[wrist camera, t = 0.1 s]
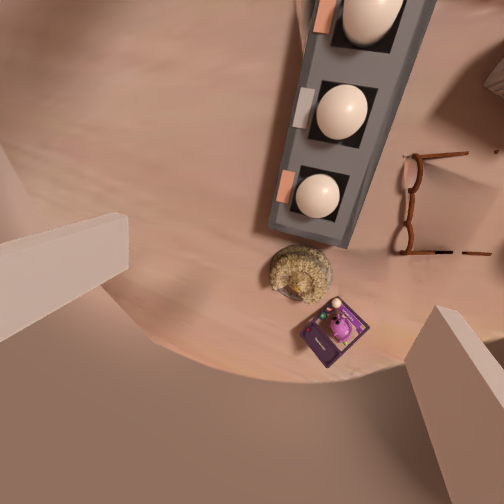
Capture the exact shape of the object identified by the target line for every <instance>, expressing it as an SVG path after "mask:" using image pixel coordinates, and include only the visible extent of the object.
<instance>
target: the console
mask: <svg viewBox="0 0 504 504" xmlns="http://www.w3.org/2000/svg"><path fill="white" fill-rule="evenodd" d="M436 2H437V0H403V2H402V5H401V8H400V10H399V12H398V15H397V17H396V19H395V21H394V23H393V25H392V27H391V29H390V31H389V32H388V33H387V35H386V36H385V37H384V38H383V39H382V40H381V41H379V42H378V43H376V44H375V45H372V46H370V47H364V48H361V47H356V46H354V45H352V44H351V43H350V42H349V41H348V40H347V39H346V37H345V35H344V32H343V8H344V0H316V1H315V6H314V11H313V15H312V20H311V25H310V29H309V34H308V39H307V43H306V48H305V53H304V57H303V62H302V67H301V71H300V76H299V81H298V85H297V90H296V95H295V99H294V104H293V109H292V113H291V118H290V123H289V127H288V132H287V137H286V141H285V146H284V151H283V155H282V160H281V165H280V169H279V174H278V179H277V183H276V188H275V193H274V197H273V202H272V207H271V211H270V216H269V221H268V225H267V228H269V229H273V230H277V231H280V232H284V233H288V234H292V235H295V236H299V237H303V238H307V239H310V240H314V241H318V242H322V243H325V244H329V245H333V246H337V247H340V248H344V249H347V248H348V245H349V242H350V239H351V237H352V234H353V231H354V228H355V226H356V223H357V220H358V217H359V214H360V212H361V209H362V206H363V203H364V201H365V198H366V195H367V192H368V190H369V187H370V184H371V181H372V179H373V176H374V173H375V170H376V167H377V165H378V162H379V159H380V156H381V154H382V151H383V148H384V145H385V143H386V140H387V137H388V134H389V132H390V129H391V126H392V123H393V120H394V118H395V115H396V112H397V109H398V107H399V104H400V101H401V98H402V96H403V93H404V90H405V87H406V85H407V82H408V79H409V76H410V73H411V71H412V68H413V65H414V62H415V60H416V57H417V54H418V51H419V49H420V46H421V43H422V40H423V38H424V35H425V32H426V29H427V26H428V24H429V21H430V18H431V15H432V13H433V10H434V7H435V4H436ZM339 85H352V86H355V87H357V88H358V89H359V90H361V91H362V93H363V94H364V96H365V98H366V101H367V114H366V118H365V120H364V122H363V124H362V125H361V127H360V128H359V129H358V130H357V131H356V132H355V133H354V134H352V135H351V136H349V137H348V138H345V139H341V140H335V139H331V138H329V137H327V136H326V135H324V134H323V132H322V131H321V129H320V128H319V126H318V123H317V108H318V105H319V103H320V101H321V99H322V98H323V96H324V95H325V94H326V93H327V92H328V91H329V90H331V89H332V88H334V87H336V86H339ZM317 173H323V174H327V175H329V176H331V177H332V178H333V179H334V180H335V181H336V183H337V185H338V188H339V202H338V205H337V207H336V208H335V210H334V211H333V212H332V213H330V214H329V215H327V216H325V217H322V218H312V217H309V216H306V215H305V214H304V213H302V212H301V211H300V209H299V208H298V206H297V202H296V193H297V190H298V187H299V186H300V184H301V183H302V182H303V181H304V180H305V179H306V178H307V177H309V176H311V175H313V174H317Z"/></svg>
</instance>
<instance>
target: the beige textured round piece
mask: <svg viewBox="0 0 504 504" xmlns="http://www.w3.org/2000/svg"><path fill="white" fill-rule="evenodd" d="M332 277H333V273H332V268H331V264H330V263H329V260H327V258H326V257H325V255H323V254H322V252H320V251H318V250H317V249H314V248H312V247H309V246H305V245H304V246H302V245H293V246H288V247H287V248H284V249H282V250H281V251H279V252H278V253H277V254H276V255H275V256H274V257H273V259H272V262H271V264H270V277H269V278H270V279H269V280H270V283H271V286H272V288H273V289H272V290H277V289H278V290H279V291H280V292H281V293H282V294H284V295H285V296H287V297H290V298H292V299H295V300H301V301H302V300H303V301H304V302H305V304H306V305H307V306H308V305H313V304H314V303H318V302H319V301H320V299H323V298H324V296H325V295H326V292H327V290H328V289H329V286H330V285H331V282H332V280H333V279H332ZM286 285H289V287H291V289H293V290H294V291H296V292H299V295H300V296H299V295H295V294H293V293H291V292H289V291H288V290H287V289H286V288H285V287H284V286H286Z"/></svg>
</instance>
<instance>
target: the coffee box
mask: <svg viewBox="0 0 504 504" xmlns="http://www.w3.org/2000/svg"><path fill="white" fill-rule="evenodd" d="M483 86H484V87H485V88H487V89H488V90H490V91H492V92H493V93H495V94H496V95H498V96H500V97H502V98H503V99H504V57H503V58H502V59H501V61H500V62H499V63H498V64H497V66H496V67H495V68H494V70H493V71H492V72H491V74H490V75H489V76H488V78H487V79H486V80H485V82H484V83H483Z"/></svg>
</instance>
